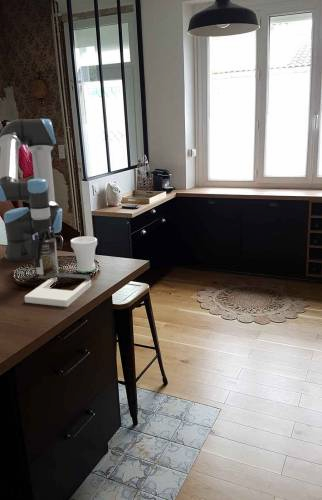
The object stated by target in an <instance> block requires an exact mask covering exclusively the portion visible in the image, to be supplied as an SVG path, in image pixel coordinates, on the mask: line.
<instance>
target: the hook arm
mask: <svg viewBox="0 0 322 500" xmlns="http://www.w3.org/2000/svg"><path fill="white" fill-rule="evenodd" d="M56 276H58V277H62V278H63V277H64V278H73V279H74V278H77V279H85V281H90V280H91V275H88V274H78V273H77V274H76V273H67V272H66V273H62V272H59V273H55V272H53V273H52V278H56Z"/></svg>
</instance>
